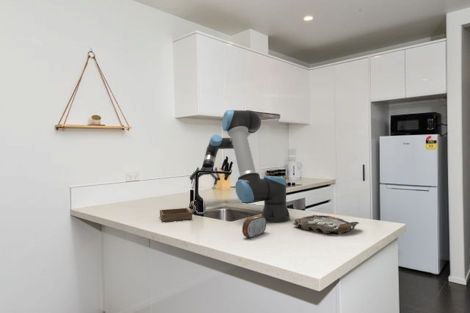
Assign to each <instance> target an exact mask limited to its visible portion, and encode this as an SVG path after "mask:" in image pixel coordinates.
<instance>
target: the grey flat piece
mask: <svg viewBox="0 0 470 313" xmlns="http://www.w3.org/2000/svg"><path fill="white" fill-rule="evenodd" d="M293 221H294V223H293V225H294V226H296V227H298V228H301V229H302V228H303V229H302V230H305V229H309V230H312V231H313V232H316V231H317V232H320V231H319V230H322V233H323V234H325V233H327V235H328V234H331V233H330V232H335V234H337V235H341V233H342V234H344V232H346V233H348V232H350V231H351V230H354V229H355V227H356V226H357V225H358V224H360V222H359V221H352V222H349V221H348V220H347V221H346V220H345V219H342V218H339V217H335V216H330V215H317V214H312V215H308V216H303V217H300V218H298V217H297V218H295V219H294V220H293ZM310 228H312V229H310Z"/></svg>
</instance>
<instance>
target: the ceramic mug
mask: <svg viewBox="0 0 470 313" xmlns="http://www.w3.org/2000/svg"><path fill="white" fill-rule="evenodd" d="M194 201H195V200H192V201H190V203H189V210H190V211H191V212H192V214H198V215H204V214H205V213H206V210H207V203H206V201H205V200H204V199H203V212H198V211H197V210H196V206H195V205H194ZM191 205H192V206H193V209H191V208H190V207H191ZM195 211H196V213H194V212H195Z"/></svg>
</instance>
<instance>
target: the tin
mask: <svg viewBox="0 0 470 313" xmlns="http://www.w3.org/2000/svg"><path fill="white" fill-rule="evenodd" d="M241 228H242V230H241V232H242V234H243V236H244V237H245V238H249V239H252V238H255V237H257V236H256V235H258V236H260V235H259V234H261V235H262V233H263V234H264V233H265V231H266V230H267V229H266V228H267V222H266V219H265V217H263V216H261V215H259V214H258V215H254V216H250V217H247V218H246V219H245V220H244V222H243V225H242V227H241ZM254 236H255V237H254ZM251 237H252V238H251Z"/></svg>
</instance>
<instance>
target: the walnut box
mask: <svg viewBox="0 0 470 313" xmlns="http://www.w3.org/2000/svg"><path fill="white" fill-rule="evenodd" d="M159 217H160V220H161V222H162V223H163V222H165V223H174V221H176V222H184V221H183V220H188V221H193V213H192V212H191V210H190V208H187V207H183V208H182V207H181V208H169V209H168V208H167V209H159Z"/></svg>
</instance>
